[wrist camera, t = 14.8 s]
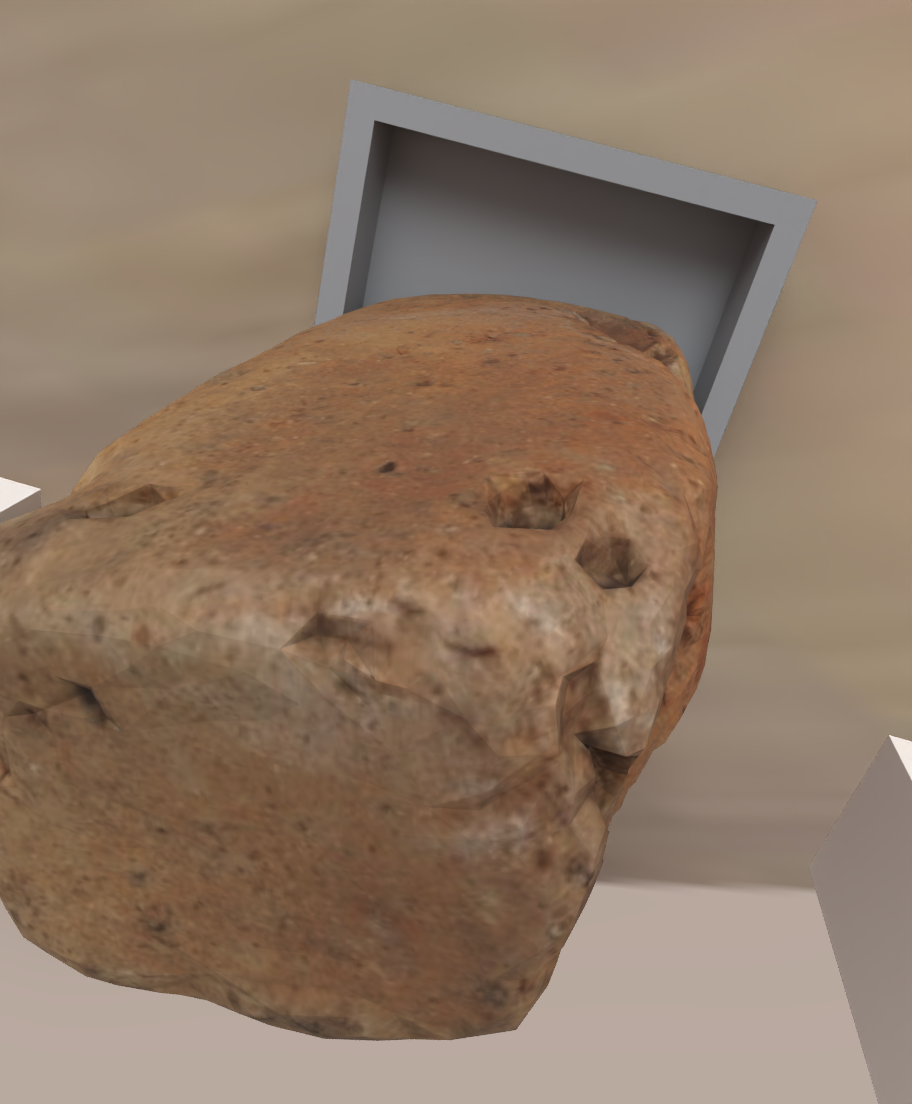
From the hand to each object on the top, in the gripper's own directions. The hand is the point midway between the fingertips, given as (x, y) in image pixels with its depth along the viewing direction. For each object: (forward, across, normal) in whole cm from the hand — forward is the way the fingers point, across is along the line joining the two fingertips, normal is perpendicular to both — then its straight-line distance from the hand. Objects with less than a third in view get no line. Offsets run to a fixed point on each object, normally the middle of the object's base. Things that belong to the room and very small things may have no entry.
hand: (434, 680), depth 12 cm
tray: (+17, 0, 0) cm, 17 cm away
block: (+16, 0, 0) cm, 16 cm away
